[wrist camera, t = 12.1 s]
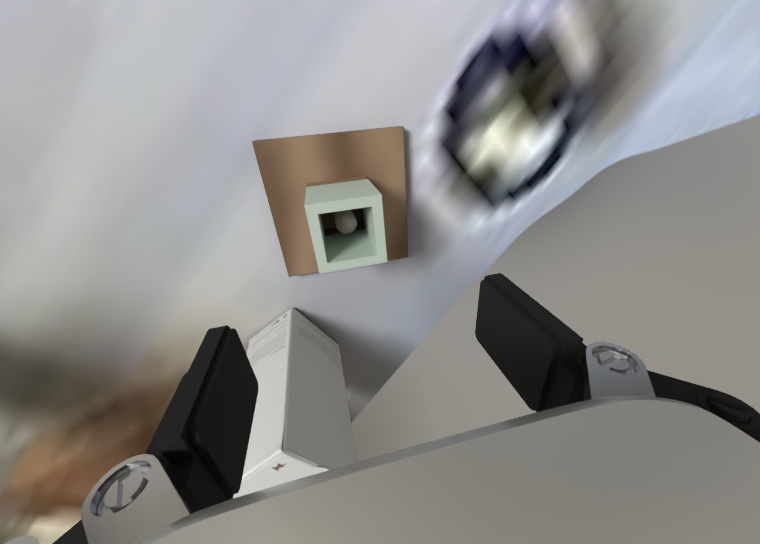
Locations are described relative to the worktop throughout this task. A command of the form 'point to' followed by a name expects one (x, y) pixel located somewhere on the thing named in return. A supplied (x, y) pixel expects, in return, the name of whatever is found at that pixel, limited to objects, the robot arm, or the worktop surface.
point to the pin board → (330, 162)
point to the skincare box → (296, 405)
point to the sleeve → (339, 247)
